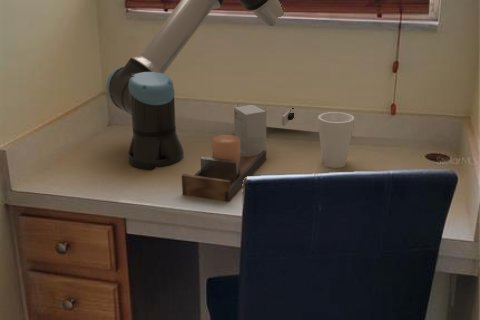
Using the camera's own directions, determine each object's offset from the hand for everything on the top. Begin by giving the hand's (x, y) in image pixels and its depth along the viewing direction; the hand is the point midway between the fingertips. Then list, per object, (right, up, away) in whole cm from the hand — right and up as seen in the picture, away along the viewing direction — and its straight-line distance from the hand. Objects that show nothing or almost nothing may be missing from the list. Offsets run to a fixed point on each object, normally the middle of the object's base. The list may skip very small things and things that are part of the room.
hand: (260, 118), depth 179 cm
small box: (-3, -10, -5) cm, 12 cm away
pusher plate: (-11, -18, -26) cm, 33 cm away
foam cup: (+19, -13, -13) cm, 27 cm away
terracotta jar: (-9, -16, -22) cm, 29 cm away
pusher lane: (-9, -17, -22) cm, 29 cm away
